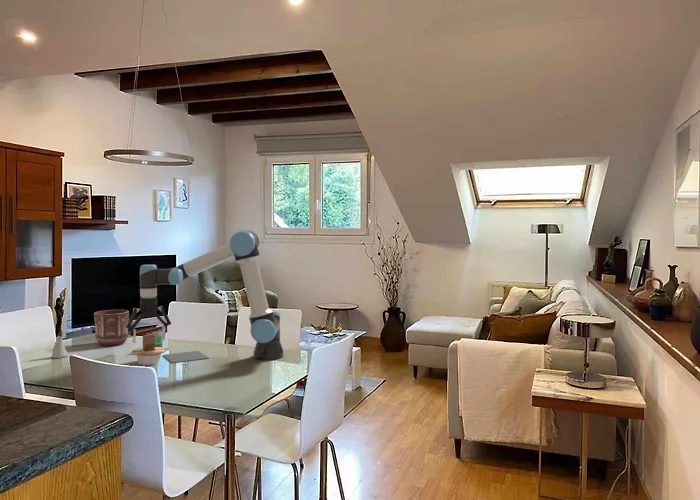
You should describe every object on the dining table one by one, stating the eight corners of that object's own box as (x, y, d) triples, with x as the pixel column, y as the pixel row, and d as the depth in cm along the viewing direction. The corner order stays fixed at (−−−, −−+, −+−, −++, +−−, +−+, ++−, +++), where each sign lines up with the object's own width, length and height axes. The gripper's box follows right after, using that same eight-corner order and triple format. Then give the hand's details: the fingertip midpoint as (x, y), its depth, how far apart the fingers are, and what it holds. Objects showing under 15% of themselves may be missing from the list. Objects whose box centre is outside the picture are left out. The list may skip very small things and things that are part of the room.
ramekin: (153, 359, 267) (153, 348, 267) (165, 362, 260) (165, 351, 260) (131, 363, 258) (131, 352, 258) (144, 367, 251) (144, 356, 251)
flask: (71, 356, 272) (71, 336, 271) (58, 359, 265) (57, 339, 265) (61, 354, 275) (61, 335, 274) (48, 357, 268) (47, 337, 268)
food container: (156, 352, 280) (156, 333, 280) (145, 352, 281) (145, 333, 281) (168, 347, 292) (168, 329, 292) (158, 347, 293) (158, 328, 293)
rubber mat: (209, 358, 268) (209, 357, 268) (172, 363, 258) (172, 362, 258) (197, 351, 283) (197, 350, 283) (162, 355, 273) (162, 354, 273)
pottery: (118, 339, 313) (117, 308, 312) (135, 343, 303) (135, 311, 302) (88, 344, 298) (87, 312, 298) (105, 349, 288) (104, 315, 287)
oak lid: (168, 353, 257) (168, 336, 257) (135, 357, 249) (135, 340, 248) (160, 347, 269) (160, 331, 269) (129, 351, 261) (128, 334, 261)
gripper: (173, 294, 268) (173, 337, 269) (119, 298, 255) (119, 342, 255) (177, 296, 262) (177, 339, 263) (122, 299, 248) (122, 345, 249)
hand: (149, 341), depth 259 cm, fingers open, 13 cm apart
